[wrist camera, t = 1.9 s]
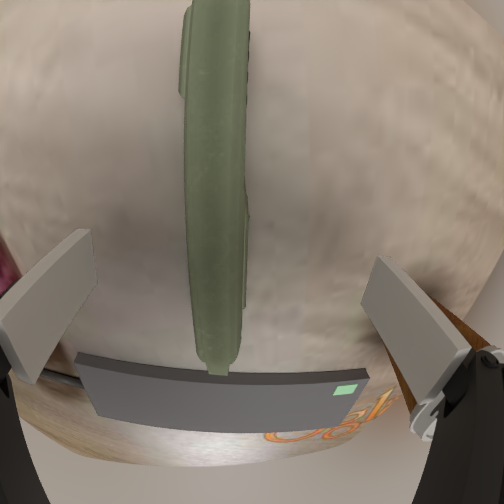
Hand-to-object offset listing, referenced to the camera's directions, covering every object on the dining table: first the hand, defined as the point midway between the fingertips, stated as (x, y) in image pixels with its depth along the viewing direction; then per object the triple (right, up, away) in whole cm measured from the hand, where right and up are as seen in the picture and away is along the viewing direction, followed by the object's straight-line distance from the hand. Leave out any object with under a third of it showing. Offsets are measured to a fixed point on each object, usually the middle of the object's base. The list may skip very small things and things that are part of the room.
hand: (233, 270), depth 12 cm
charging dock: (-7, -15, +14) cm, 22 cm away
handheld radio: (-1, +3, +7) cm, 8 cm away
